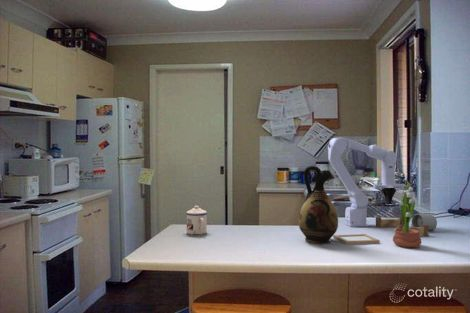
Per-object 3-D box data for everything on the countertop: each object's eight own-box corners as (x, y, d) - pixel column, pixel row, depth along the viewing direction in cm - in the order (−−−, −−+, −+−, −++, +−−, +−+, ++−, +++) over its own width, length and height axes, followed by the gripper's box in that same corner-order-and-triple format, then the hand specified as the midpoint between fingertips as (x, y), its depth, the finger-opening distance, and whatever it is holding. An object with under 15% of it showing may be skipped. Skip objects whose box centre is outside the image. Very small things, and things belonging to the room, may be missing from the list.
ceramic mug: (438, 231, 171) (438, 214, 171) (423, 232, 169) (423, 215, 169) (420, 227, 181) (420, 211, 181) (406, 228, 179) (406, 211, 179)
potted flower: (426, 251, 138) (427, 181, 137) (396, 249, 140) (397, 181, 139) (417, 243, 150) (418, 179, 149) (390, 241, 152) (391, 178, 151)
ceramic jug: (342, 239, 155) (343, 165, 154) (331, 247, 142) (332, 167, 141) (302, 234, 164) (303, 164, 163) (288, 242, 150) (289, 165, 150)
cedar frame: (399, 236, 161) (399, 225, 160) (375, 226, 182) (375, 217, 182) (428, 236, 162) (428, 225, 162) (401, 226, 183) (401, 216, 183)
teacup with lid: (183, 231, 168) (183, 205, 168) (202, 229, 173) (202, 203, 172) (192, 237, 158) (193, 209, 158) (213, 235, 162) (213, 207, 162)
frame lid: (346, 244, 146) (346, 241, 146) (333, 238, 157) (333, 235, 157) (379, 243, 149) (379, 240, 149) (364, 236, 160) (364, 233, 160)
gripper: (377, 176, 180) (378, 205, 180) (407, 175, 181) (407, 204, 181) (371, 175, 187) (371, 203, 187) (399, 174, 188) (399, 202, 188)
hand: (388, 203), depth 185 cm, fingers closed
